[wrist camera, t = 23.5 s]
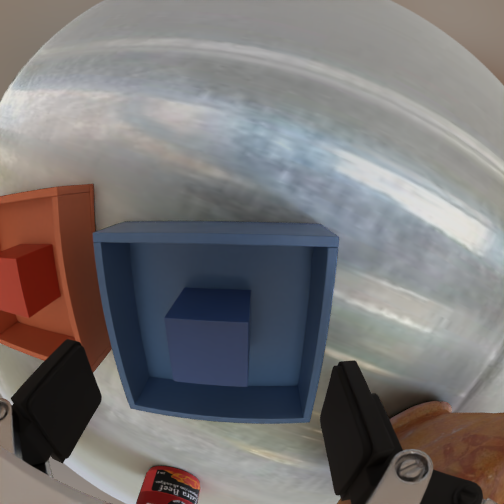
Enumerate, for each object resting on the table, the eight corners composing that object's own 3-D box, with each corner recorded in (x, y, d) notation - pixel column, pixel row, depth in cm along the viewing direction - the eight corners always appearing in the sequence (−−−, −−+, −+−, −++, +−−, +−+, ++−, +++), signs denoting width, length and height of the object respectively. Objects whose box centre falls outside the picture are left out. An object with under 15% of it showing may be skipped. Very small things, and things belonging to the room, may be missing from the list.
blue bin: (124, 221, 19) (92, 232, 14) (321, 223, 19) (339, 236, 14) (147, 376, 22) (130, 408, 18) (302, 385, 22) (309, 422, 18)
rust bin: (-3, 198, 19) (-33, 204, 14) (93, 183, 18) (57, 186, 14) (19, 323, 22) (-5, 341, 18) (114, 346, 22) (91, 375, 17)
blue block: (184, 287, 19) (163, 317, 15) (251, 289, 19) (248, 322, 15) (189, 343, 21) (173, 381, 16) (250, 346, 21) (247, 387, 16)
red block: (21, 243, 19) (-14, 256, 14) (52, 244, 19) (15, 258, 14) (29, 291, 20) (-2, 309, 16) (61, 296, 20) (29, 318, 15)
